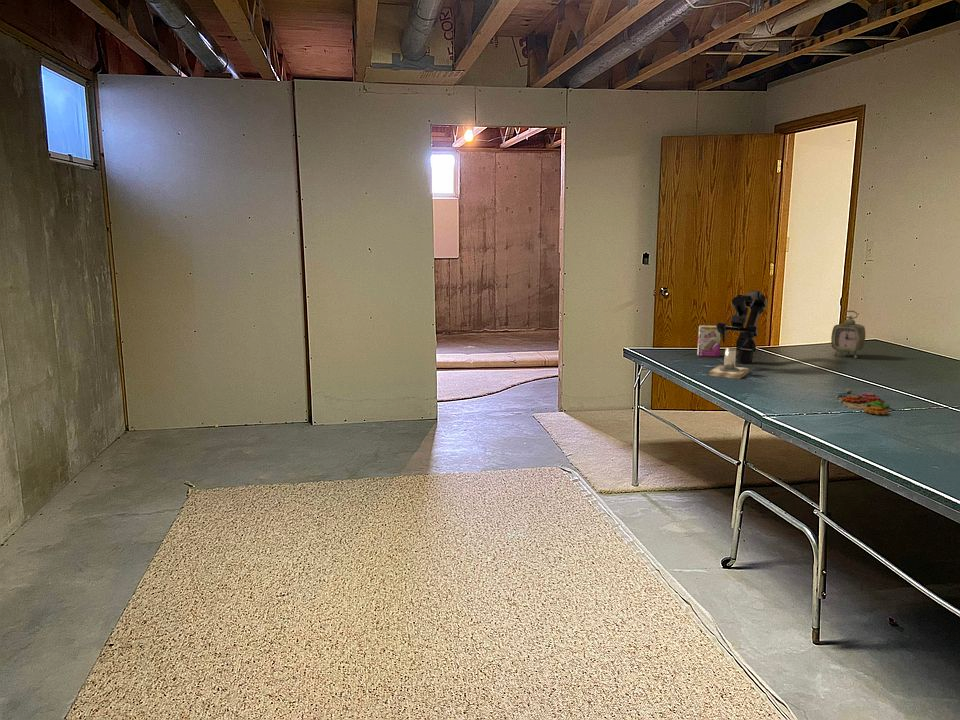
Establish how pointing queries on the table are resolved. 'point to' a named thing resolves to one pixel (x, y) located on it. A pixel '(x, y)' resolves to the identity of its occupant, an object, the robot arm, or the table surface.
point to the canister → (729, 358)
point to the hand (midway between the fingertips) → (733, 344)
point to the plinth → (729, 372)
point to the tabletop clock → (848, 336)
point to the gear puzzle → (864, 402)
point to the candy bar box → (708, 341)
